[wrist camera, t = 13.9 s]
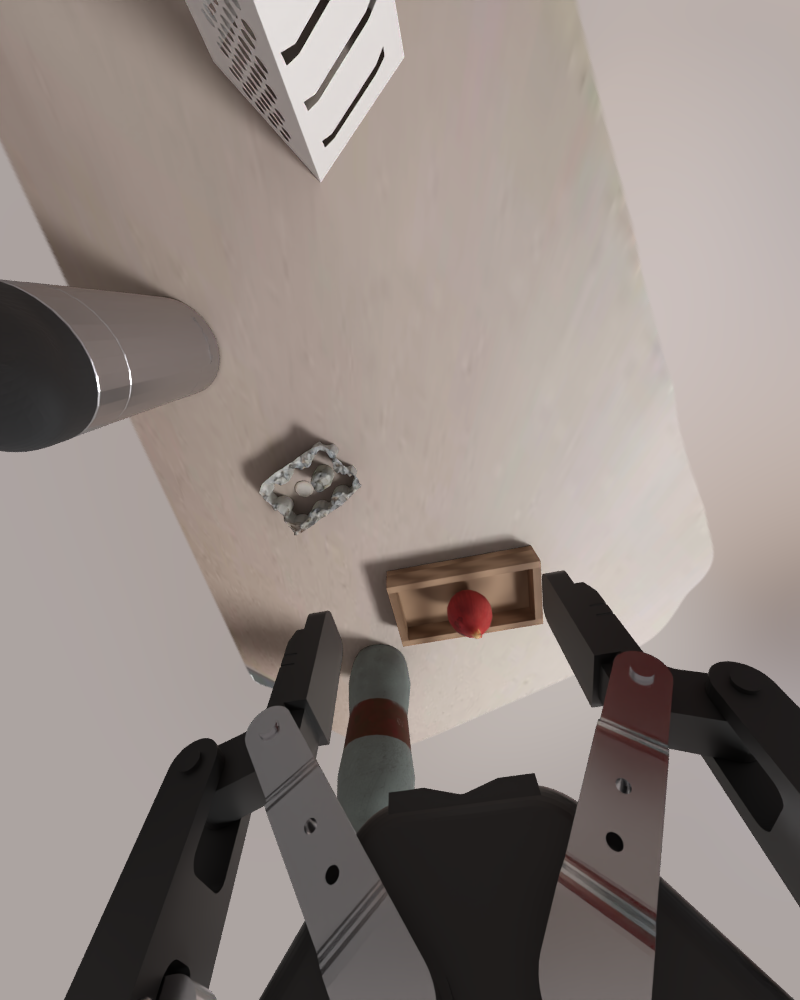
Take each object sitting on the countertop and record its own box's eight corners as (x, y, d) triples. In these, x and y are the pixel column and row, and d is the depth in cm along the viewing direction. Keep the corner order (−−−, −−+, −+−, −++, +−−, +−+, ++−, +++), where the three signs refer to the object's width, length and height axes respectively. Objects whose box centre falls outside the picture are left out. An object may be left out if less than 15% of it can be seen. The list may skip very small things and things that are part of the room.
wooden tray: (402, 628, 55) (403, 646, 52) (386, 571, 50) (386, 588, 47) (534, 606, 53) (543, 623, 50) (530, 545, 48) (540, 560, 45)
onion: (457, 615, 52) (467, 661, 45) (436, 590, 50) (443, 634, 43) (492, 596, 51) (508, 641, 44) (471, 570, 49) (485, 613, 42)
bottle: (345, 674, 59) (305, 967, 32) (360, 635, 55) (330, 931, 28) (398, 685, 61) (403, 974, 34) (417, 648, 57) (439, 941, 30)
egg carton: (301, 522, 47) (293, 540, 43) (260, 478, 44) (248, 493, 40) (367, 481, 44) (365, 495, 40) (329, 431, 41) (322, 442, 38)
